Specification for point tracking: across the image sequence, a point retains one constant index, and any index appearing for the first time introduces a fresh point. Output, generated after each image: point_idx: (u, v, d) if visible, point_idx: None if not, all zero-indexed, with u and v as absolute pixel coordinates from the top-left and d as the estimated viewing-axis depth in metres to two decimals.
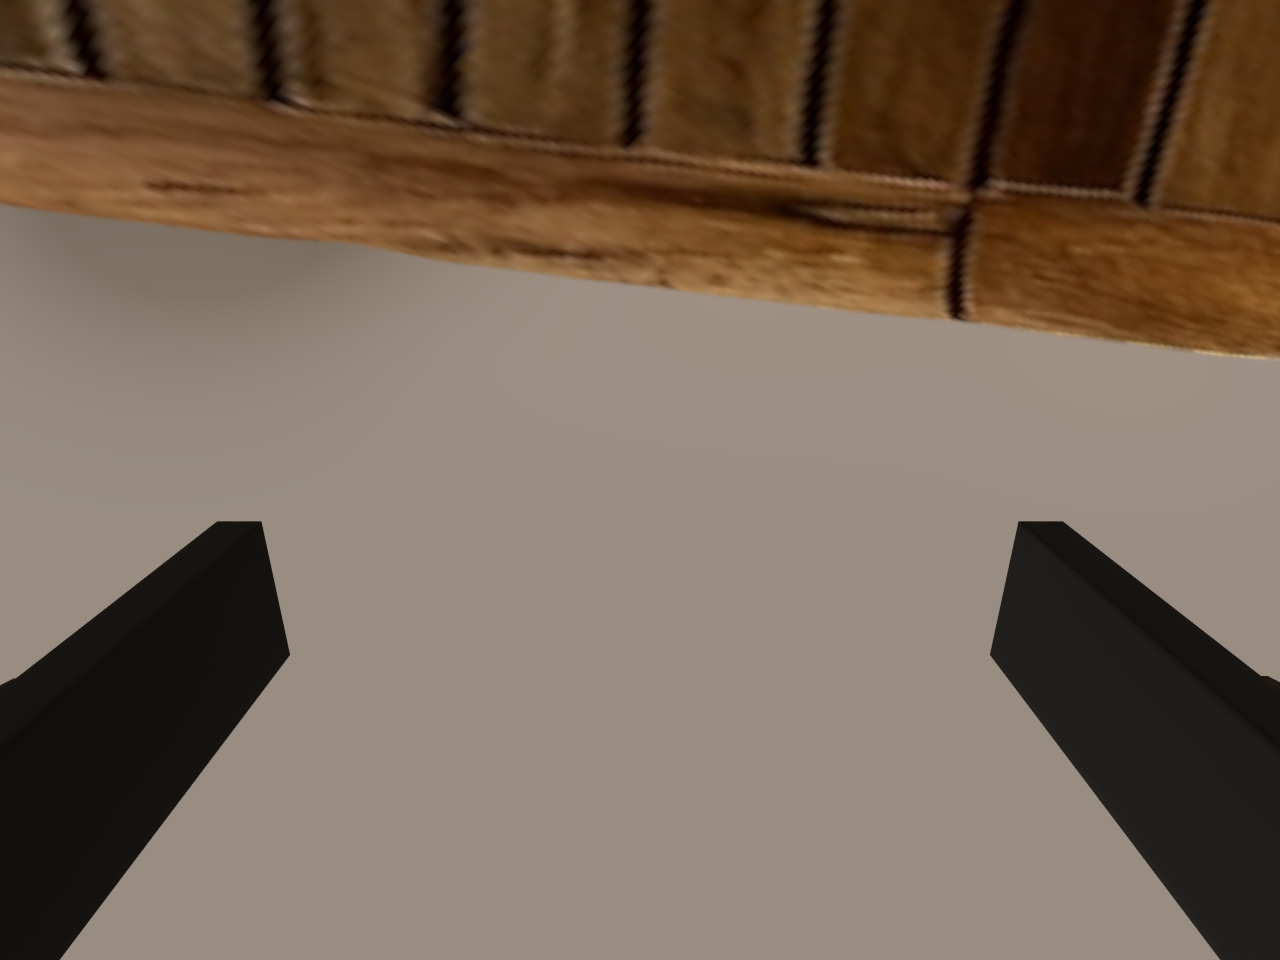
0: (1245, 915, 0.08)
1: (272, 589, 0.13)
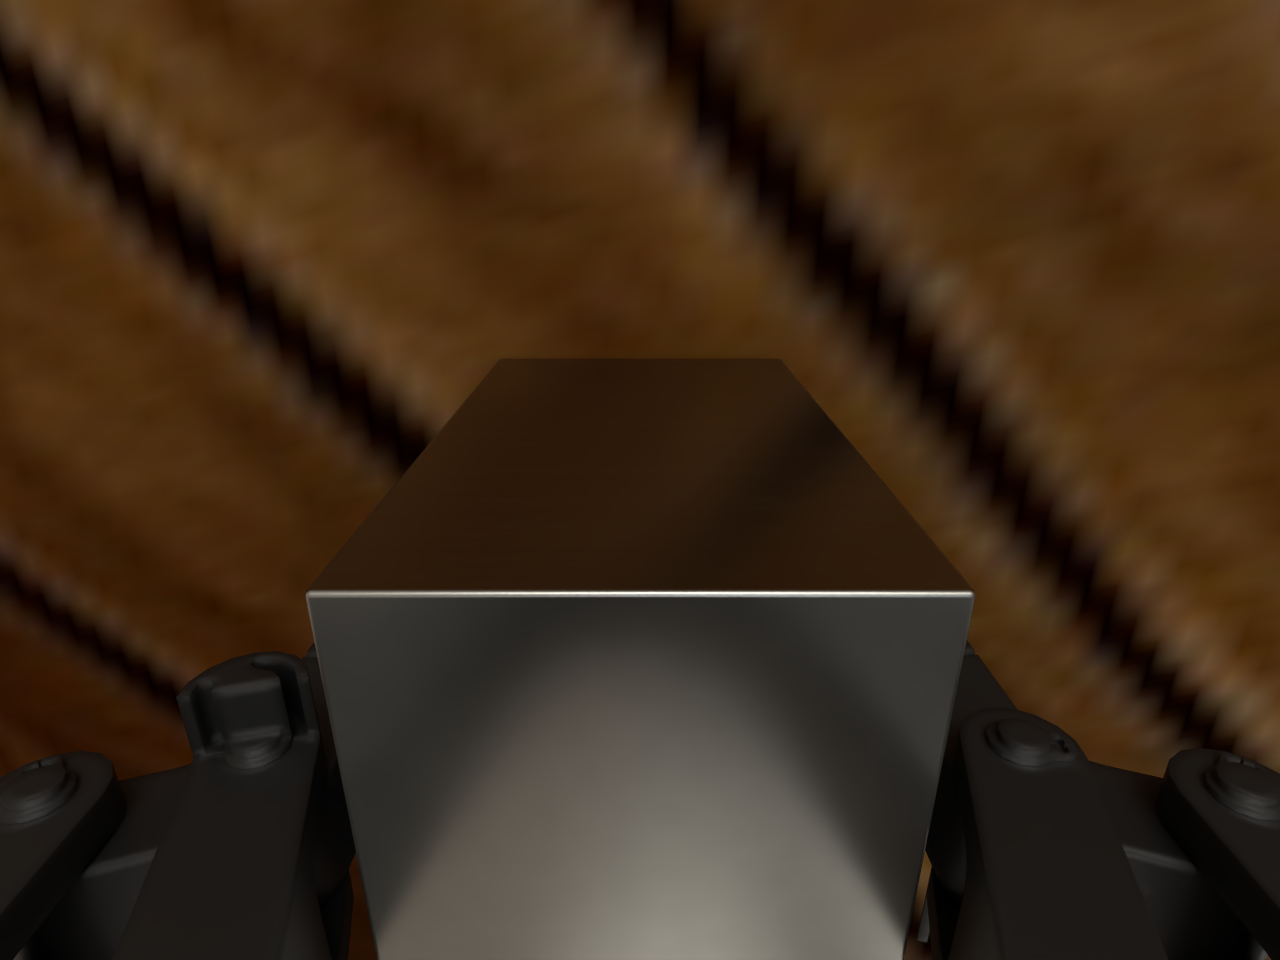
0: None
1: None
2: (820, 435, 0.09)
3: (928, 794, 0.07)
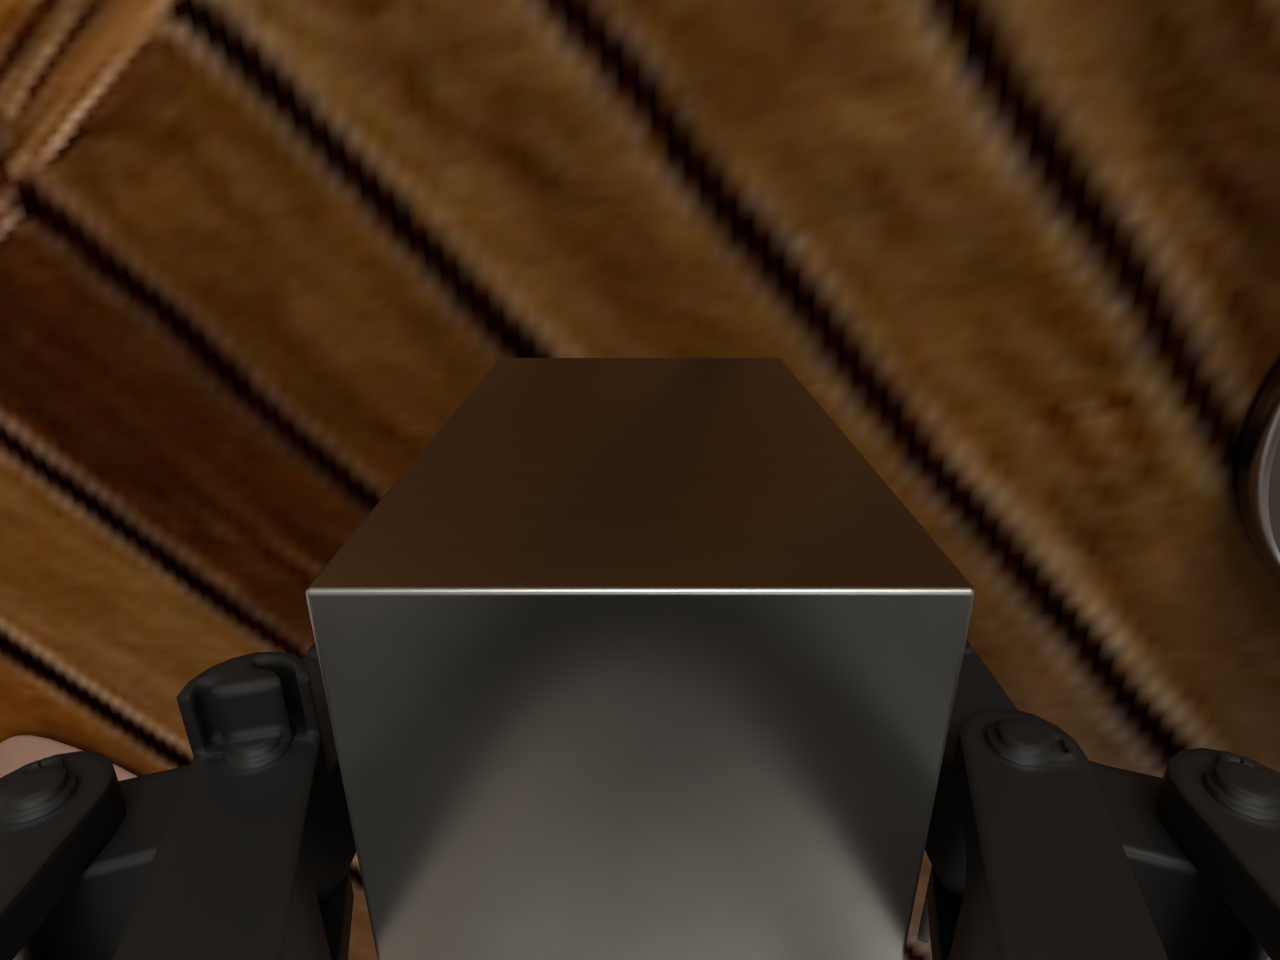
0: None
1: None
2: (820, 434, 0.09)
3: (928, 792, 0.07)
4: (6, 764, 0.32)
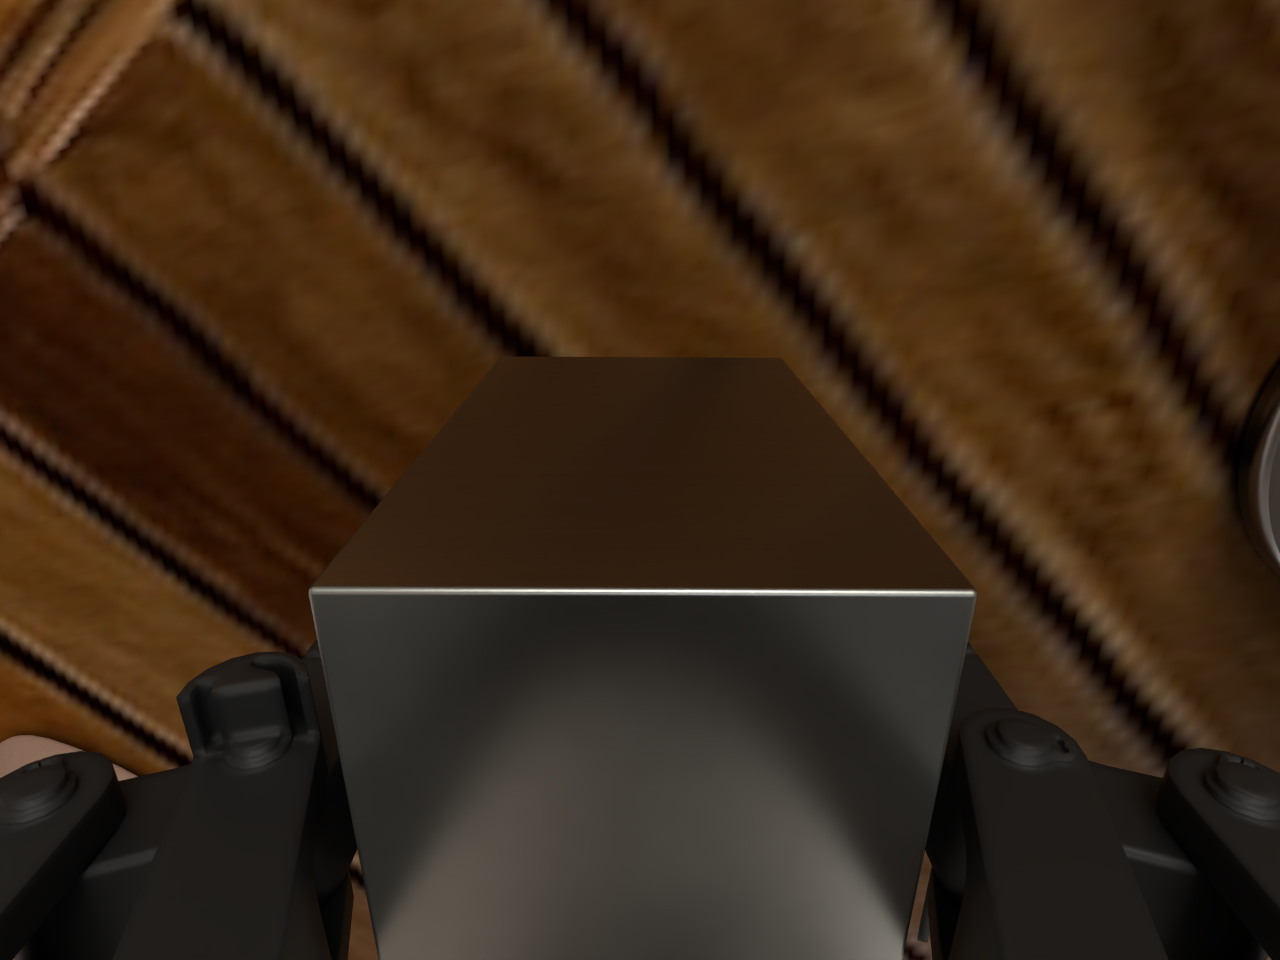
0: None
1: None
2: (822, 434, 0.09)
3: (929, 793, 0.07)
4: (6, 764, 0.32)
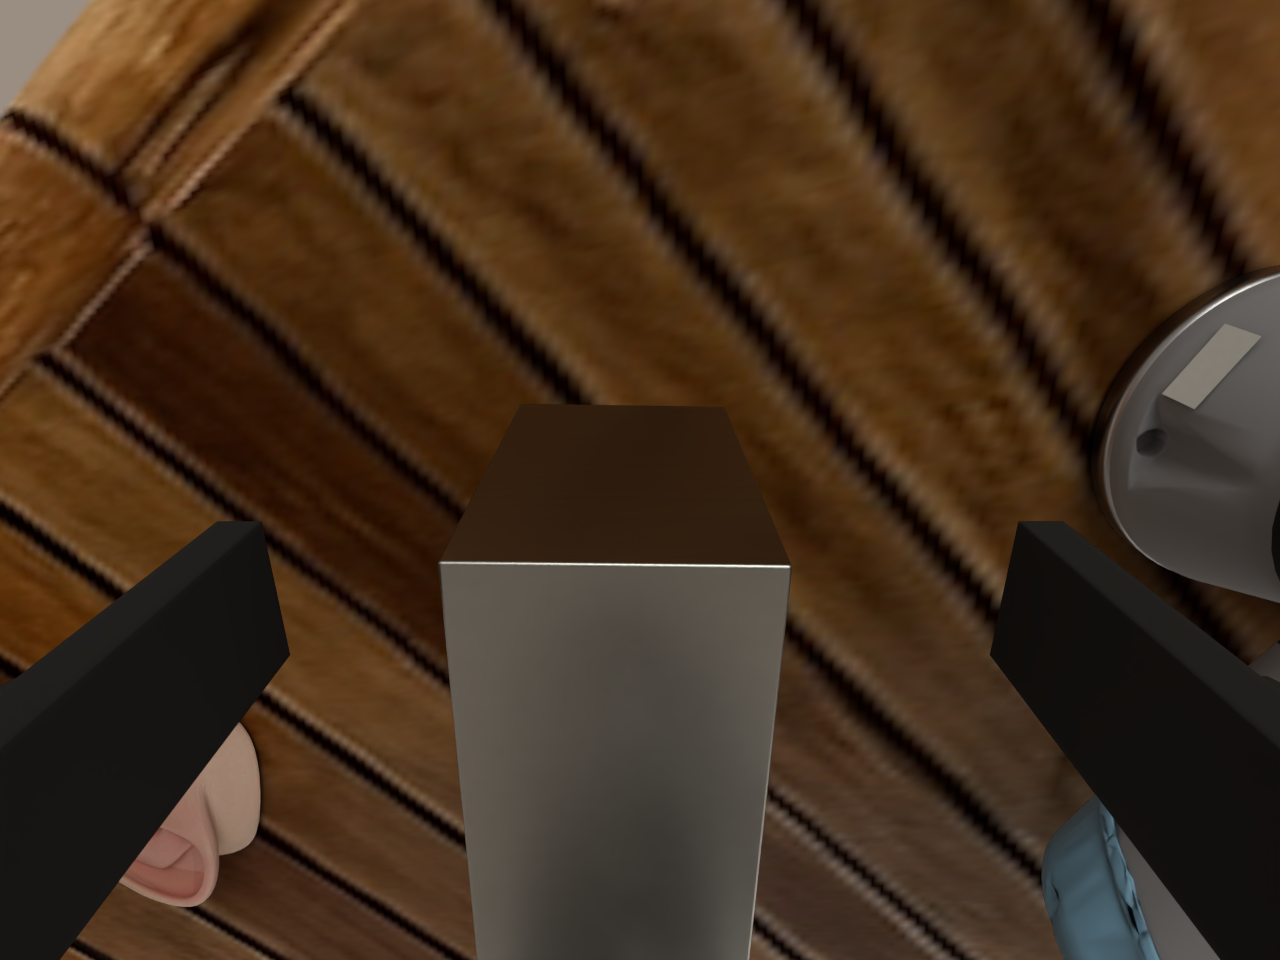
0: (1245, 915, 0.08)
1: (273, 589, 0.13)
2: (736, 470, 0.15)
3: (775, 679, 0.12)
4: None
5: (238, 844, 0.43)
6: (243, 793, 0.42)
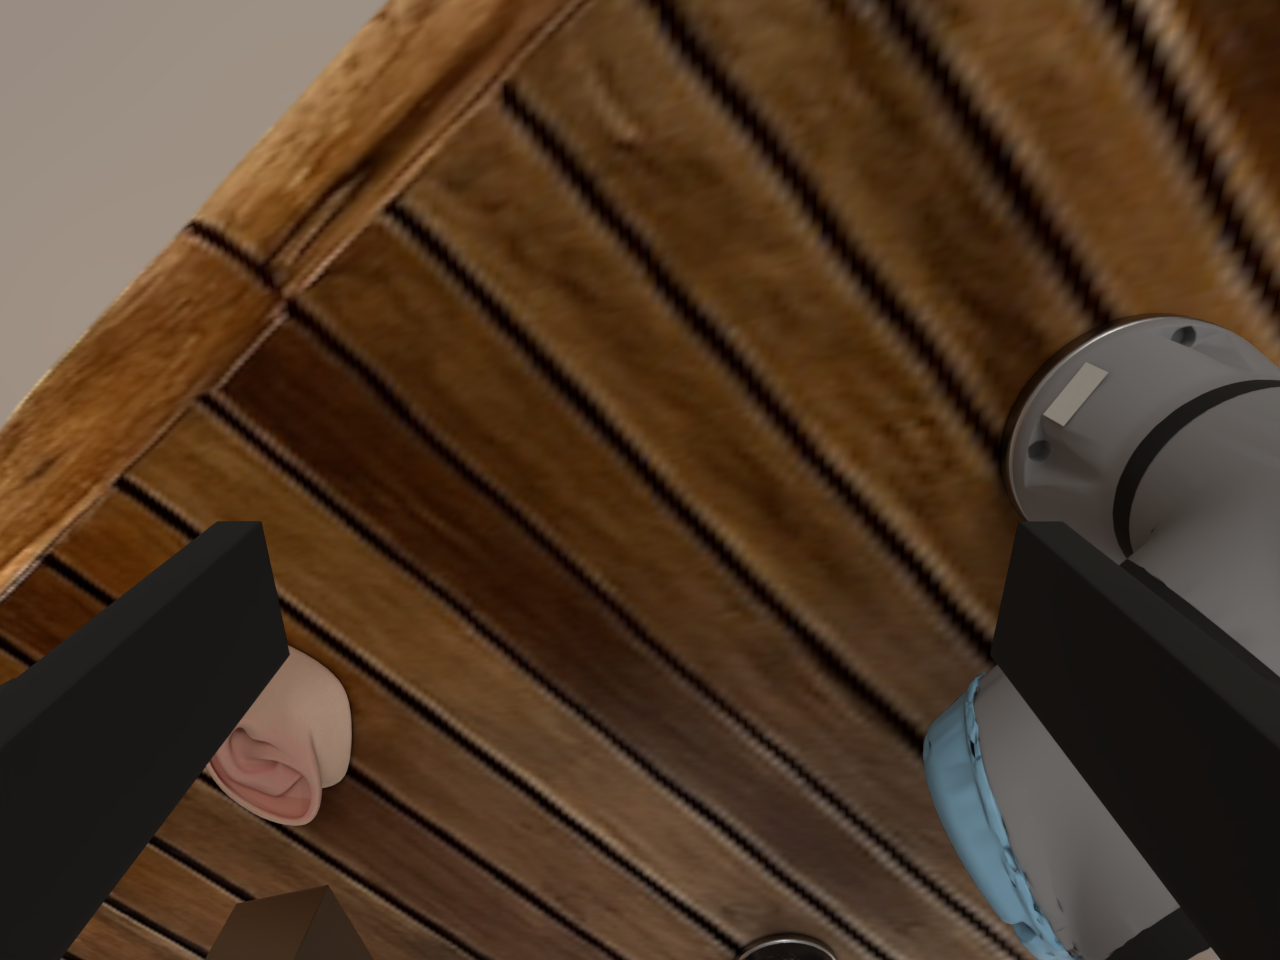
0: (1244, 915, 0.08)
1: (273, 589, 0.13)
2: None
3: None
4: None
5: (333, 778, 0.54)
6: (339, 736, 0.53)
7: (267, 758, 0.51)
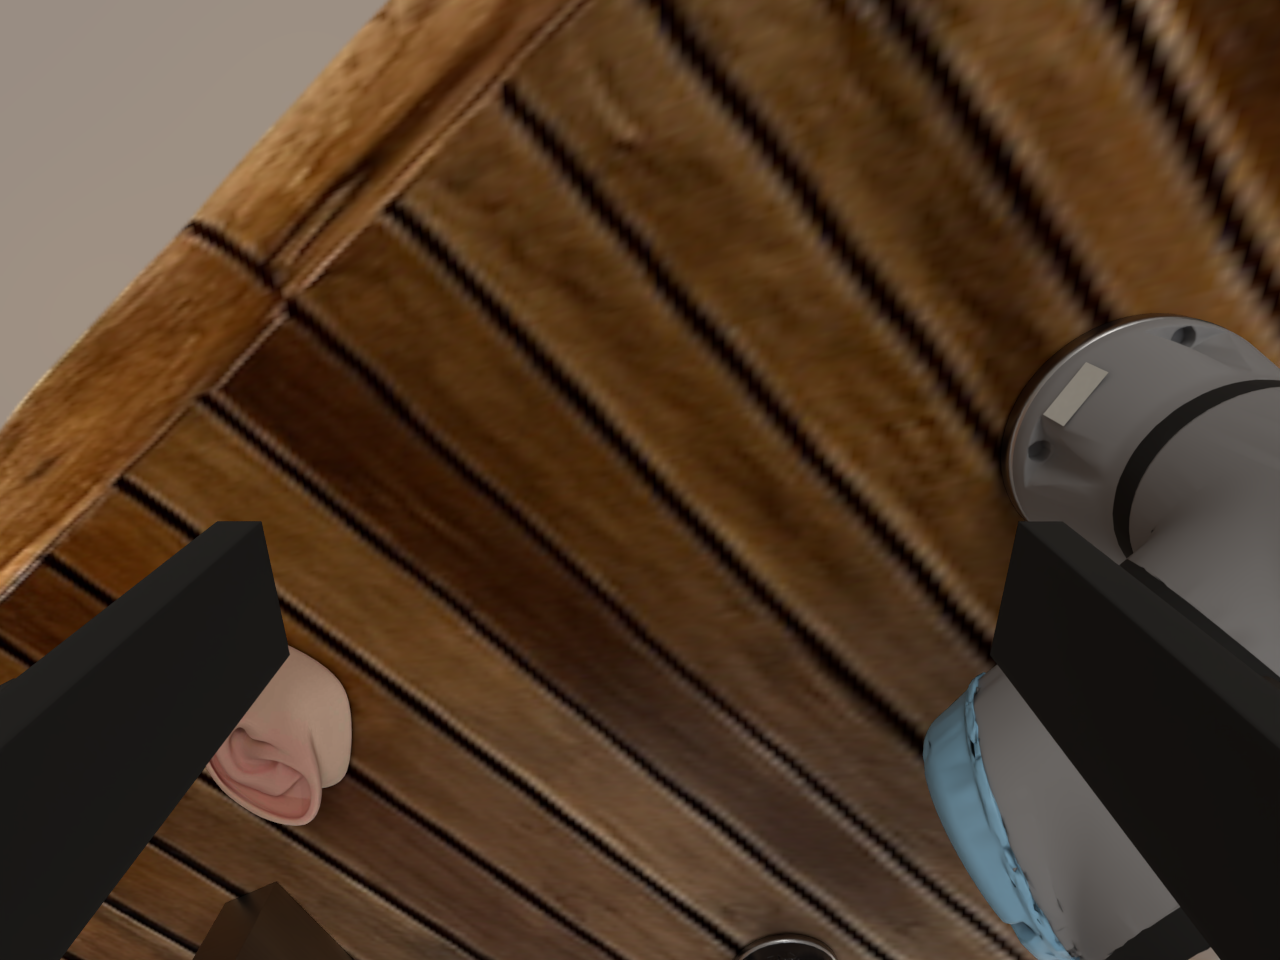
0: (1244, 915, 0.08)
1: (273, 589, 0.13)
2: (244, 937, 0.55)
3: None
4: None
5: (333, 778, 0.54)
6: (339, 736, 0.53)
7: (267, 758, 0.51)
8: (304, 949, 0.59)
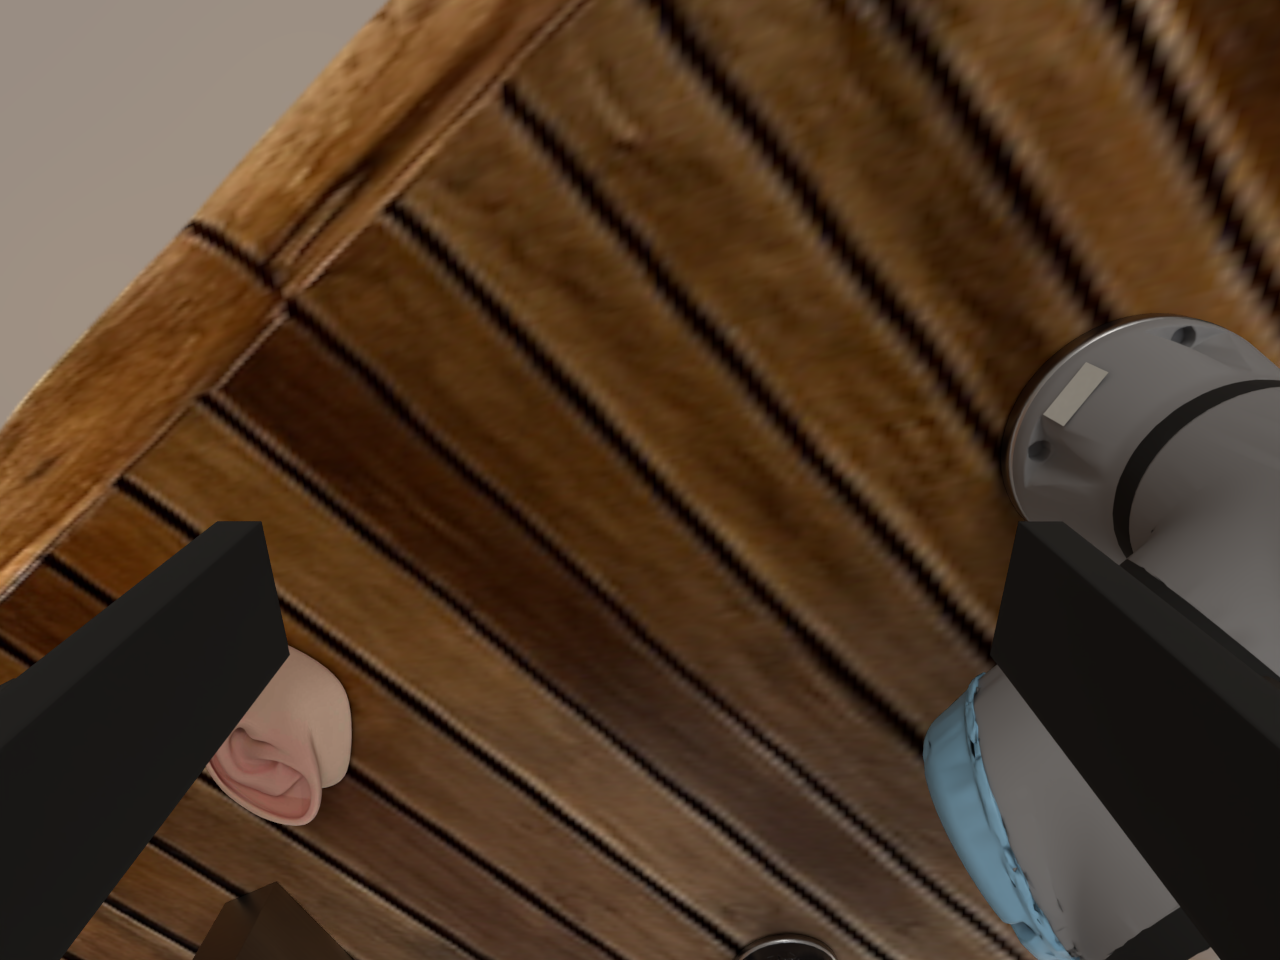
0: (1244, 915, 0.08)
1: (273, 589, 0.13)
2: (244, 937, 0.55)
3: None
4: None
5: (333, 778, 0.54)
6: (339, 736, 0.53)
7: (267, 758, 0.51)
8: (304, 949, 0.59)
